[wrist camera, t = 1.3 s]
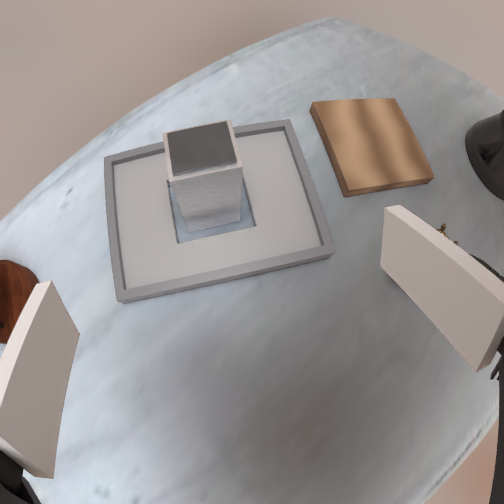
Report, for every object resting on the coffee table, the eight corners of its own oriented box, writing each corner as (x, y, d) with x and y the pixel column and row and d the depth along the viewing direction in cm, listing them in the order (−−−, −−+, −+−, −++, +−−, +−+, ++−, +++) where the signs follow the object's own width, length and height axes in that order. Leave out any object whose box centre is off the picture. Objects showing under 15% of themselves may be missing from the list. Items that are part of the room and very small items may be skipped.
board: (390, 106, 44) (394, 98, 42) (427, 183, 41) (434, 176, 39) (309, 110, 43) (312, 102, 41) (344, 197, 39) (349, 190, 37)
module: (231, 183, 39) (230, 116, 26) (240, 221, 38) (243, 164, 25) (182, 194, 38) (161, 130, 26) (189, 232, 37) (168, 179, 24)
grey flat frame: (286, 130, 41) (289, 119, 39) (329, 257, 37) (335, 252, 35) (110, 166, 39) (103, 157, 36) (124, 303, 34) (116, 300, 32)
